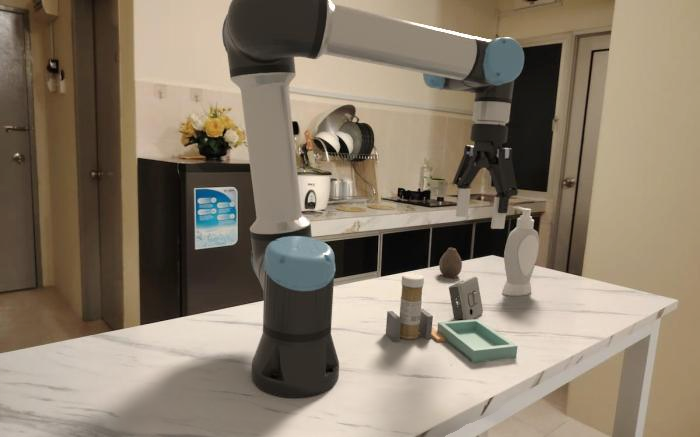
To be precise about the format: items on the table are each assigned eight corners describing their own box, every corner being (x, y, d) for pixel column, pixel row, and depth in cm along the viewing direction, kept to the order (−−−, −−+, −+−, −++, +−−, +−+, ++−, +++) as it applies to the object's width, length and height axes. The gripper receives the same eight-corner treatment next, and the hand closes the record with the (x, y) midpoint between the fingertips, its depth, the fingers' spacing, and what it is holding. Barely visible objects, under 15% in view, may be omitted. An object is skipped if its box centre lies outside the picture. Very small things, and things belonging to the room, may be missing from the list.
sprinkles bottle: (414, 331, 105) (419, 272, 102) (422, 340, 100) (427, 278, 98) (394, 331, 104) (399, 272, 101) (401, 340, 99) (406, 279, 97)
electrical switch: (467, 324, 111) (467, 285, 110) (446, 320, 114) (447, 282, 113) (483, 314, 118) (484, 277, 117) (464, 310, 121) (464, 274, 120)
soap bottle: (519, 285, 143) (529, 205, 139) (540, 293, 136) (551, 209, 132) (486, 289, 137) (496, 206, 133) (506, 298, 130) (517, 210, 126)
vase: (438, 277, 146) (441, 250, 145) (438, 271, 153) (440, 245, 151) (461, 280, 145) (464, 252, 144) (460, 273, 152) (462, 247, 150)
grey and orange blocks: (397, 345, 97) (399, 322, 96) (382, 329, 104) (384, 308, 103) (445, 340, 101) (447, 318, 100) (427, 326, 108) (429, 305, 107)
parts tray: (472, 362, 91) (474, 350, 91) (437, 333, 104) (438, 322, 104) (516, 357, 95) (517, 346, 94) (476, 329, 108) (477, 319, 107)
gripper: (546, 125, 91) (530, 234, 94) (472, 125, 114) (462, 212, 117) (513, 122, 88) (499, 234, 92) (444, 122, 111) (435, 212, 115)
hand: (478, 222), depth 104 cm, fingers open, 13 cm apart
